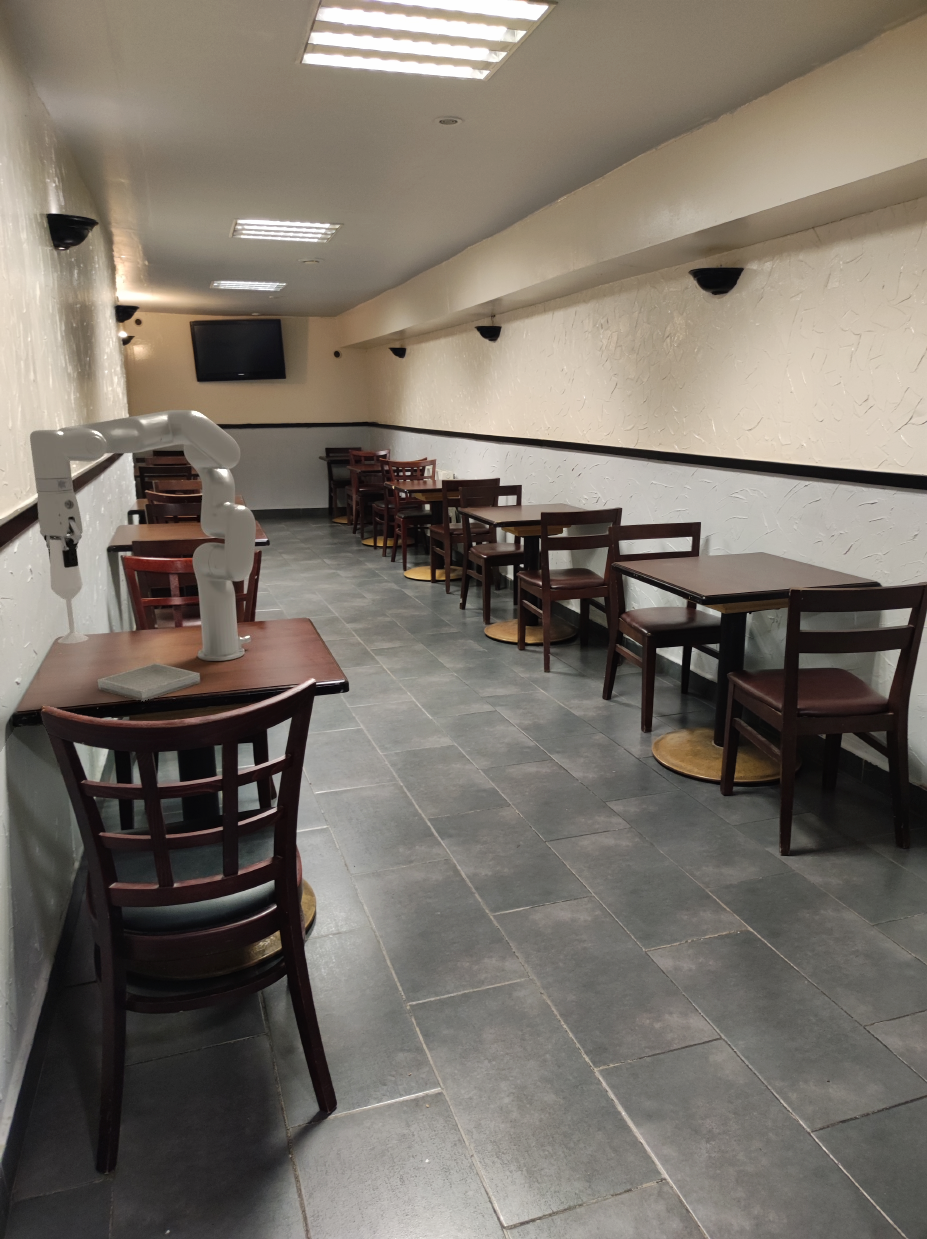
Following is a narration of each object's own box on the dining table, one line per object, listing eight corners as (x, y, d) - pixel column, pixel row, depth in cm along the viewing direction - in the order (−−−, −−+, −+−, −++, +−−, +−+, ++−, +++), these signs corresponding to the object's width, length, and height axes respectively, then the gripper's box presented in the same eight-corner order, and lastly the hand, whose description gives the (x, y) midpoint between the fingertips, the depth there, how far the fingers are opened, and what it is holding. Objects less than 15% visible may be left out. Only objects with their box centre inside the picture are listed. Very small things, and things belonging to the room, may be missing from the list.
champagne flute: (54, 644, 196) (41, 541, 190) (61, 637, 202) (48, 537, 197) (86, 642, 198) (73, 540, 192) (91, 635, 204) (79, 535, 198)
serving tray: (156, 672, 222) (155, 662, 222) (200, 682, 213) (199, 673, 213) (98, 689, 208) (97, 679, 208) (142, 701, 199) (141, 691, 199)
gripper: (92, 486, 190) (101, 566, 194) (48, 483, 199) (58, 559, 203) (61, 489, 184) (71, 571, 188) (17, 485, 193) (28, 564, 197)
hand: (64, 564), depth 196 cm, fingers closed on champagne flute, 4 cm apart
